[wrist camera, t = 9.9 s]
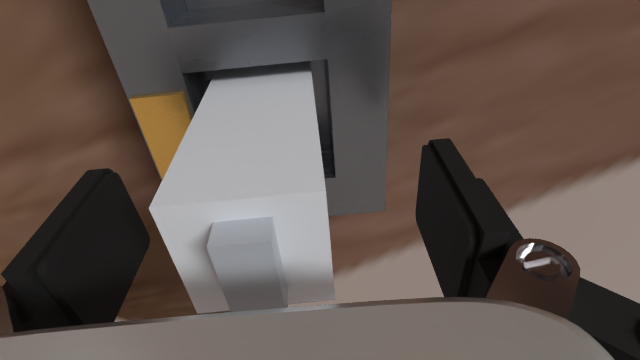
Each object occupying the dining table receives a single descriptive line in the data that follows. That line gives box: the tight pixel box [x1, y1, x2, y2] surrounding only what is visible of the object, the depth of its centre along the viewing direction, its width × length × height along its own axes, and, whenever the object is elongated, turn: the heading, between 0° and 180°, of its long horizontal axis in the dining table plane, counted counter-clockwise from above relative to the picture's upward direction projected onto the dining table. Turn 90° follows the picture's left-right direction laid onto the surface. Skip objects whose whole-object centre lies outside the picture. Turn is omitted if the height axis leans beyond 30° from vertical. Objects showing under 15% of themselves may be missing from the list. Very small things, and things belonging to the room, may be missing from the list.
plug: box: [149, 61, 335, 314], centre depth 13 cm, size 4×4×11 cm
